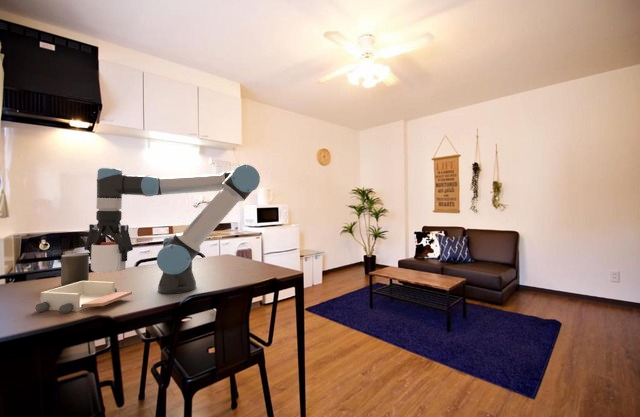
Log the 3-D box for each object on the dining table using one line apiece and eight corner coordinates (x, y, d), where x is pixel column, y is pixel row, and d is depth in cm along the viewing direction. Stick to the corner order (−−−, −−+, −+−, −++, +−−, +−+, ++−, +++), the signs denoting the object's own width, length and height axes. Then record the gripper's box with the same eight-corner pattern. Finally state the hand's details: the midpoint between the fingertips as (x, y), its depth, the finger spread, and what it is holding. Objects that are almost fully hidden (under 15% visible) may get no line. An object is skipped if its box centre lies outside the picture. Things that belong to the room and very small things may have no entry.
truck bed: (119, 295, 117) (119, 280, 117) (69, 314, 96) (70, 296, 96) (88, 293, 118) (88, 279, 118) (32, 312, 97) (32, 294, 97)
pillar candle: (86, 285, 130) (87, 252, 130) (58, 288, 124) (59, 254, 124) (89, 280, 138) (90, 249, 138) (63, 283, 133) (63, 251, 133)
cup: (106, 274, 100) (107, 246, 100) (83, 272, 102) (84, 244, 102) (131, 268, 110) (131, 242, 110) (109, 266, 112) (110, 241, 112)
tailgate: (112, 295, 113) (132, 294, 112) (81, 306, 100) (103, 305, 99) (112, 292, 113) (131, 291, 112) (80, 304, 100) (102, 303, 99)
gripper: (144, 210, 108) (143, 268, 108) (90, 209, 110) (89, 266, 111) (129, 210, 101) (128, 273, 101) (71, 209, 103) (70, 270, 103)
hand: (108, 269), depth 106 cm, fingers closed on cup, 10 cm apart
